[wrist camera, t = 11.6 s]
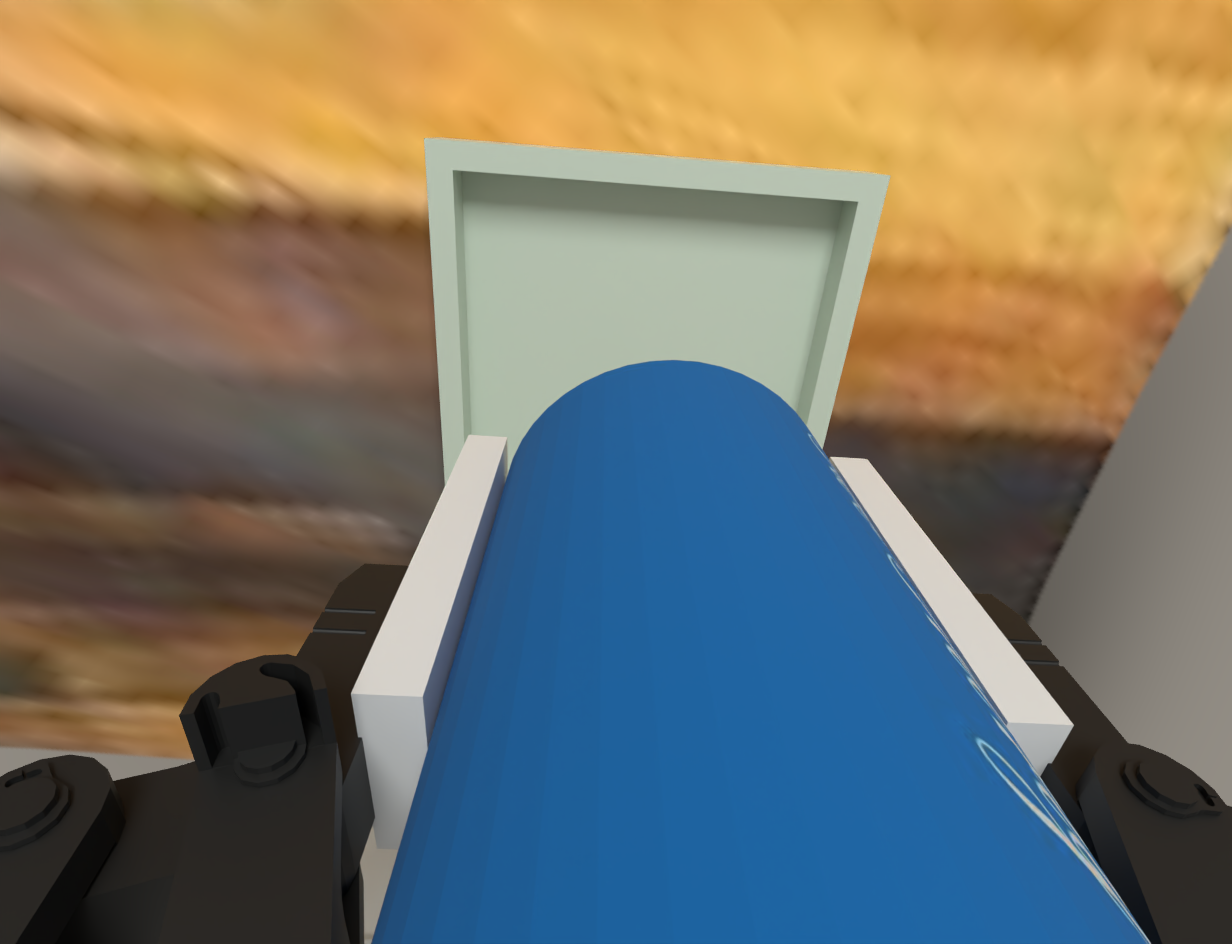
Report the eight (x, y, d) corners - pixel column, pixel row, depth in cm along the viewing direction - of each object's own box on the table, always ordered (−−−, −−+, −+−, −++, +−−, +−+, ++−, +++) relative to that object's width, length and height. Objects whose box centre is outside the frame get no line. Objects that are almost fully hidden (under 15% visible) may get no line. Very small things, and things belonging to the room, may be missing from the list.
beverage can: (868, 519, 14) (1658, 1710, 3) (628, 653, 16) (670, 1716, 5) (707, 276, 12) (1756, 1838, 1) (445, 467, 13) (-183, 1767, 3)
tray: (458, 509, 24) (448, 535, 23) (439, 137, 18) (423, 138, 17) (784, 526, 25) (796, 553, 23) (866, 171, 19) (890, 175, 17)
